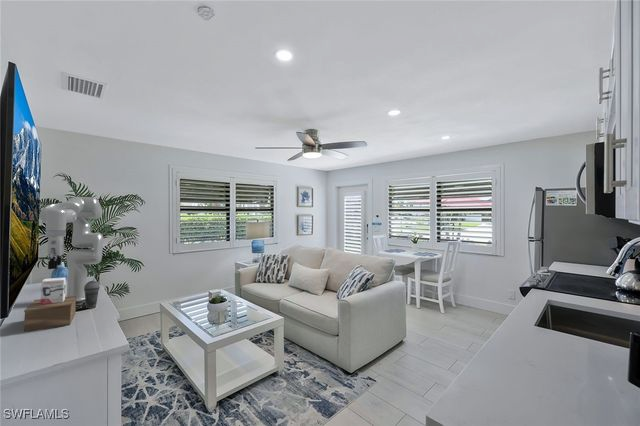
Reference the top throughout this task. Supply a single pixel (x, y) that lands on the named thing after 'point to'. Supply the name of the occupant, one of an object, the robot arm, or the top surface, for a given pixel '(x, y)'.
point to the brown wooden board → (38, 306)
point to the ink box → (53, 290)
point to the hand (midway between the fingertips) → (54, 266)
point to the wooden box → (49, 318)
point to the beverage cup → (91, 293)
